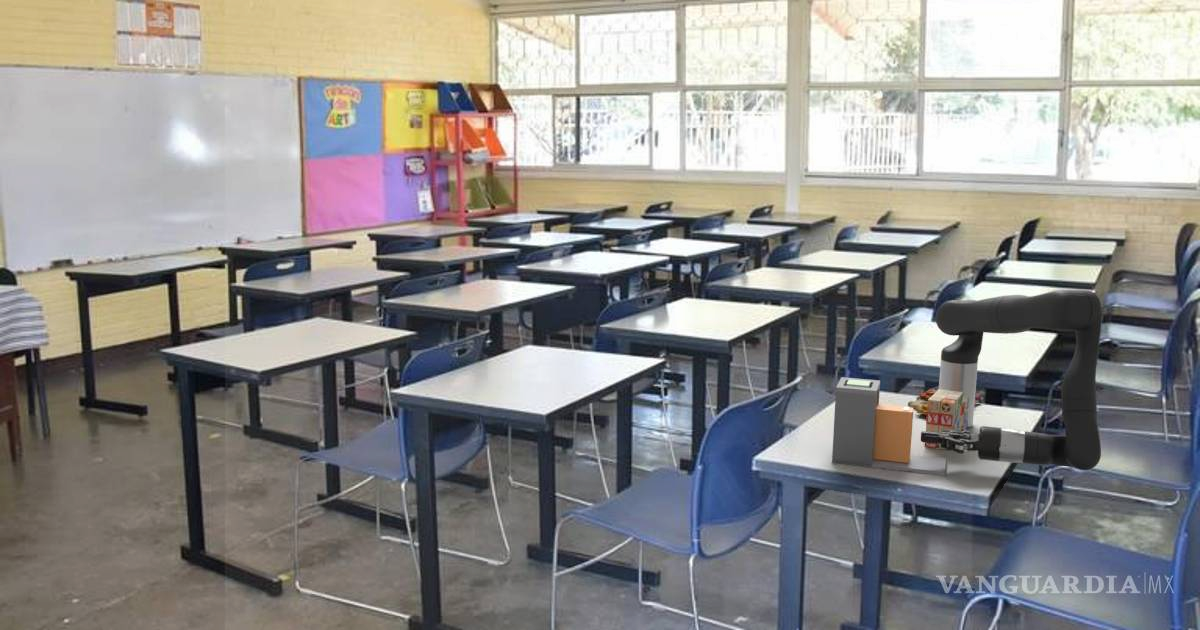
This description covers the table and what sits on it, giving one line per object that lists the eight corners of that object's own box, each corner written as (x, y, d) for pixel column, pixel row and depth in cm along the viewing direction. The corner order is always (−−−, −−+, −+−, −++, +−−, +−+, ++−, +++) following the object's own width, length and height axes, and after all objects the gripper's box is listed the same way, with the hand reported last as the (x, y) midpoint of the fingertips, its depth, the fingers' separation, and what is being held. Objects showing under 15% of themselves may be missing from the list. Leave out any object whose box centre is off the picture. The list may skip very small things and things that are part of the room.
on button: (847, 399, 244) (848, 379, 243) (869, 402, 242) (870, 381, 241) (845, 404, 239) (846, 383, 238) (867, 407, 238) (868, 385, 237)
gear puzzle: (951, 422, 275) (952, 408, 274) (892, 414, 284) (893, 399, 283) (985, 399, 299) (985, 385, 299) (929, 392, 309) (930, 378, 308)
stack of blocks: (942, 427, 272) (946, 381, 270) (967, 430, 269) (971, 384, 266) (924, 447, 253) (927, 398, 251) (950, 451, 250) (954, 402, 248)
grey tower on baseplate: (837, 449, 250) (841, 377, 247) (946, 461, 241) (951, 386, 238) (831, 462, 239) (836, 387, 236) (945, 475, 231) (951, 397, 228)
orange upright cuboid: (874, 453, 243) (877, 403, 241) (910, 457, 241) (913, 406, 239) (873, 459, 239) (876, 408, 237) (909, 463, 237) (912, 411, 235)
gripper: (1001, 421, 237) (923, 413, 243) (1004, 436, 225) (920, 427, 230) (999, 452, 238) (920, 444, 244) (1001, 469, 226) (918, 460, 232)
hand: (921, 436), depth 237 cm, fingers closed
